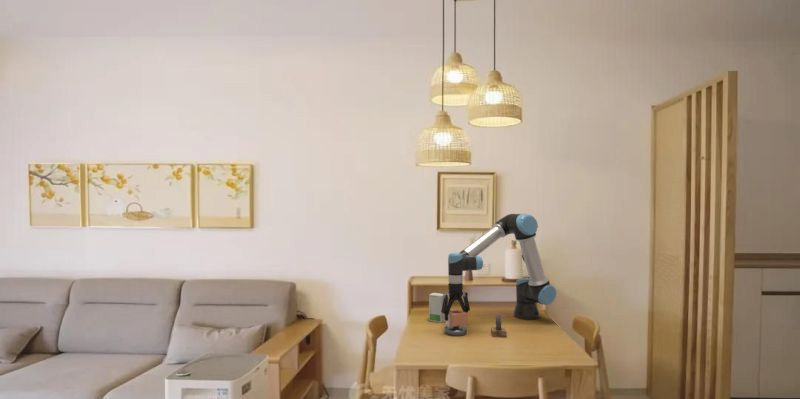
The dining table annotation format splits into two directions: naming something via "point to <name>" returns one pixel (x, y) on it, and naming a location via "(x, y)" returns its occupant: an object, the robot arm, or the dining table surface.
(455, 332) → the hub
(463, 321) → the pink square tube frame
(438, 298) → the skincare box
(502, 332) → the stand
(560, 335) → the dining table surface
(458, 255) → the robot arm
